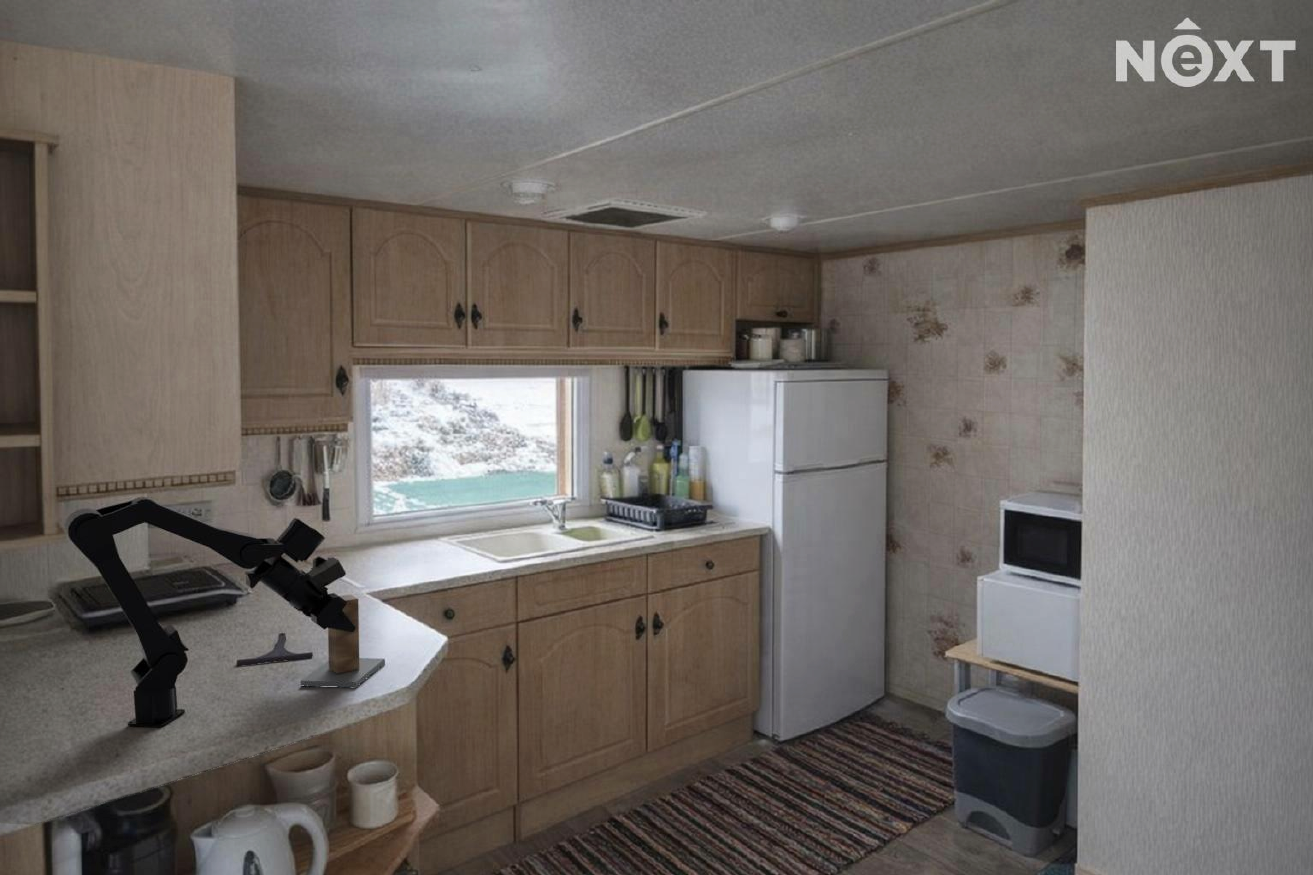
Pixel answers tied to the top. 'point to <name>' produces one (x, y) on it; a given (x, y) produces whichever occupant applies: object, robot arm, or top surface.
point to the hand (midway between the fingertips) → (349, 626)
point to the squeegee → (276, 654)
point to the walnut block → (345, 641)
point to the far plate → (343, 674)
